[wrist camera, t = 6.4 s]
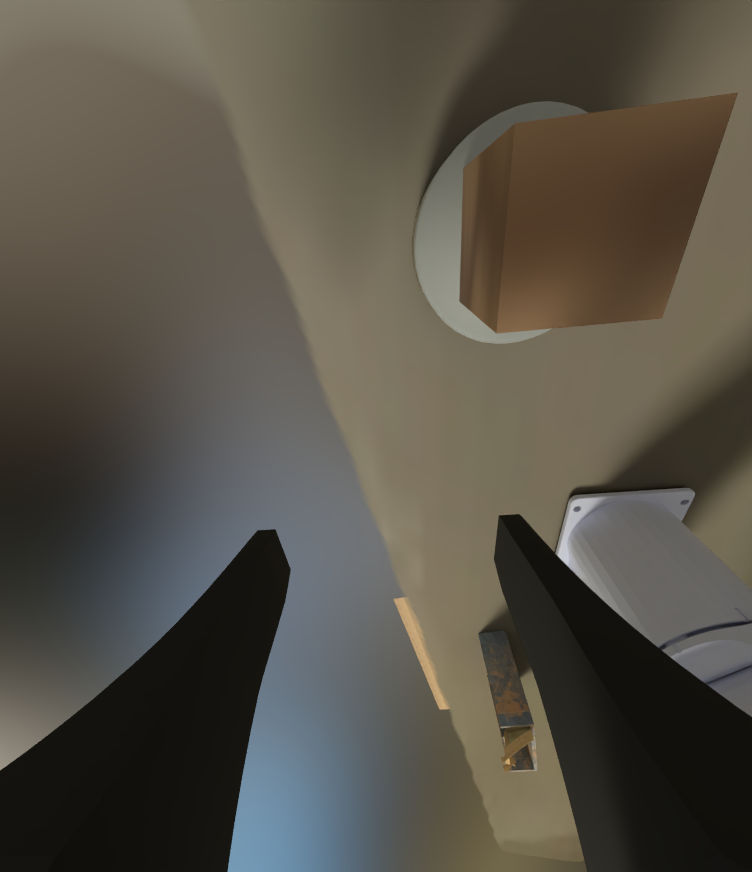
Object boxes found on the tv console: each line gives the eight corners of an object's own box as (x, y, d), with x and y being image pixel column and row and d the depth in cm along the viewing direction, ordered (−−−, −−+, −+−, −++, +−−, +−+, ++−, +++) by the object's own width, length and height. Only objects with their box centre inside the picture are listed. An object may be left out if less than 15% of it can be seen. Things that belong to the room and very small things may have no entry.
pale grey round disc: (568, 318, 17) (601, 333, 15) (416, 335, 18) (421, 352, 15) (606, 111, 13) (660, 81, 11) (405, 143, 14) (410, 122, 11)
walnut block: (567, 290, 14) (661, 318, 9) (459, 301, 14) (496, 333, 9) (593, 151, 11) (737, 92, 7) (462, 168, 12) (515, 123, 7)
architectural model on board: (472, 629, 33) (502, 762, 25) (503, 625, 32) (544, 759, 24) (484, 681, 39) (511, 803, 30) (511, 678, 38) (546, 802, 30)
